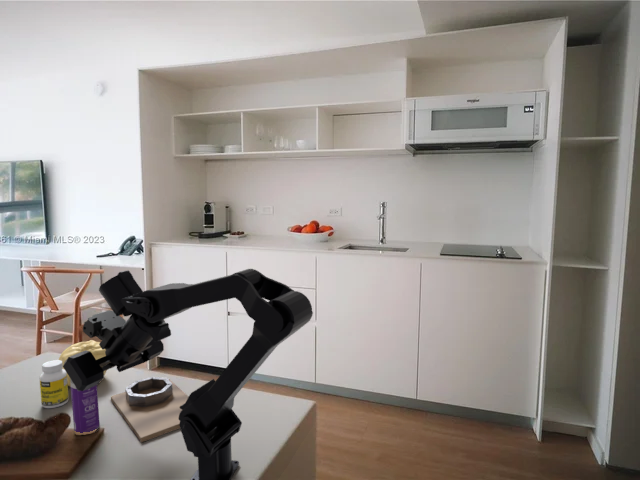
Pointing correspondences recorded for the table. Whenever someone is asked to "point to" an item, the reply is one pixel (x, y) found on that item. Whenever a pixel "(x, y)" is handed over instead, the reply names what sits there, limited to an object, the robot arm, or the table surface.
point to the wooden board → (152, 414)
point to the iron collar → (151, 398)
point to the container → (85, 409)
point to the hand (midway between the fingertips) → (99, 378)
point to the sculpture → (81, 347)
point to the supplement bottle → (53, 384)
